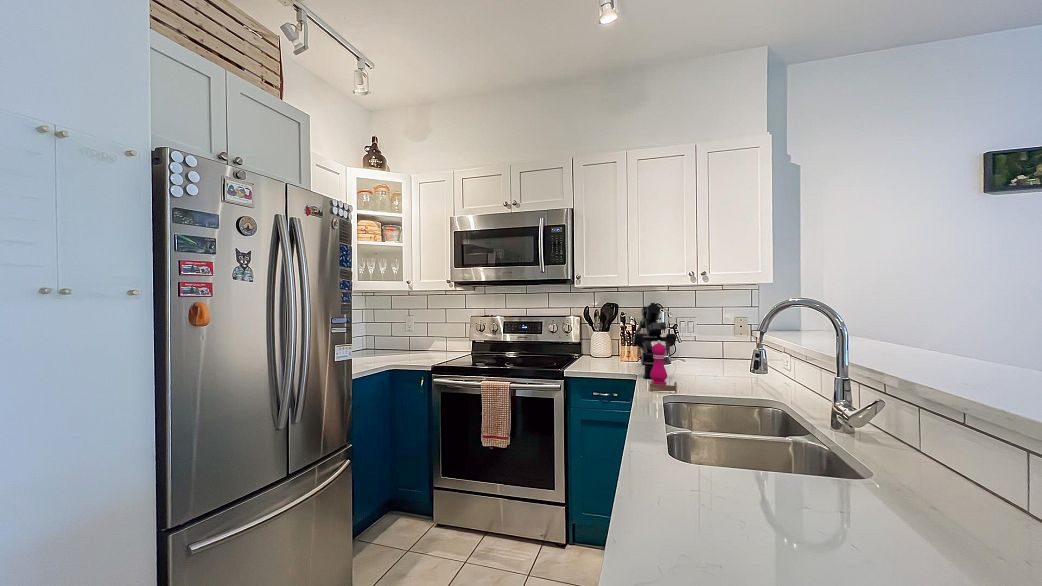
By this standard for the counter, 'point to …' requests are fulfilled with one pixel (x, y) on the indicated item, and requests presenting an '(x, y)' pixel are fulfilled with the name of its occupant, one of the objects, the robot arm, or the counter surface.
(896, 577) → the counter surface
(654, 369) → the pepper mill
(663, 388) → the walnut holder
